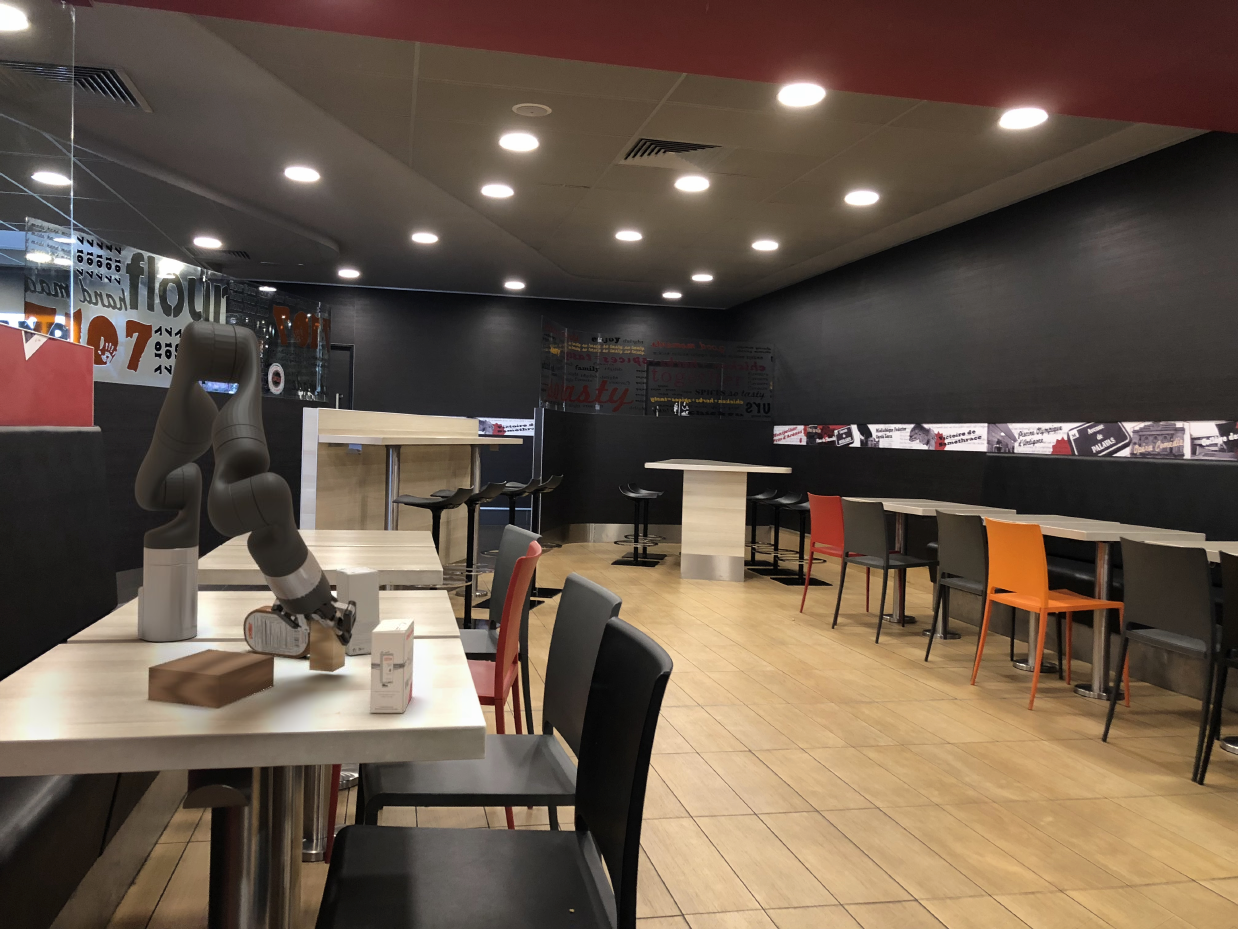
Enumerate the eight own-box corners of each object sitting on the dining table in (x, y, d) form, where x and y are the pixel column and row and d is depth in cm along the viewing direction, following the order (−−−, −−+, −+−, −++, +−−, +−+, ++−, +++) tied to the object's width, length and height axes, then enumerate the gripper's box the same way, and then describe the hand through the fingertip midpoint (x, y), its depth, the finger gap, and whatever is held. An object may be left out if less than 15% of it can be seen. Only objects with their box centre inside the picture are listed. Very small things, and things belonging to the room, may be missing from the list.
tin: (321, 658, 150) (322, 610, 149) (309, 662, 147) (310, 613, 146) (252, 649, 154) (253, 603, 154) (239, 653, 151) (240, 605, 151)
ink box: (380, 696, 128) (382, 617, 128) (413, 696, 128) (415, 617, 128) (368, 714, 119) (370, 630, 119) (404, 714, 120) (406, 630, 119)
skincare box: (380, 653, 154) (382, 571, 153) (346, 657, 150) (348, 573, 150) (366, 643, 161) (368, 565, 160) (333, 647, 157) (335, 566, 157)
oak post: (309, 670, 136) (310, 613, 135) (322, 664, 140) (323, 609, 139) (332, 672, 135) (334, 615, 135) (344, 665, 139) (346, 610, 139)
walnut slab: (148, 702, 123) (148, 667, 123) (208, 680, 135) (208, 649, 135) (218, 710, 120) (218, 675, 120) (273, 688, 132) (274, 656, 131)
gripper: (349, 559, 128) (382, 623, 141) (262, 554, 131) (302, 618, 143) (330, 601, 123) (366, 663, 135) (240, 595, 126) (284, 657, 138)
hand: (333, 639), depth 139 cm, fingers closed on oak post, 4 cm apart
